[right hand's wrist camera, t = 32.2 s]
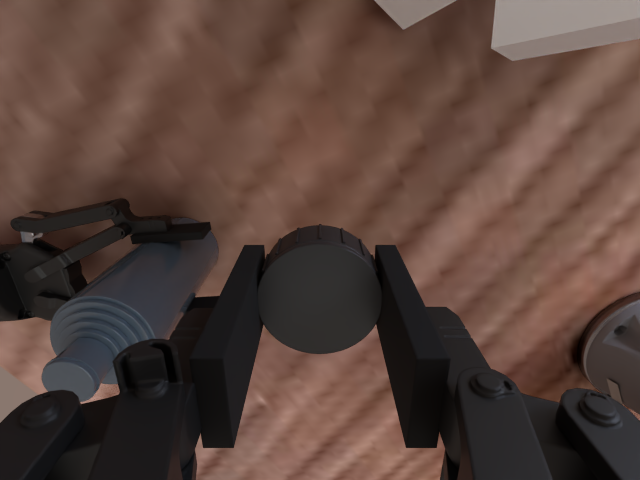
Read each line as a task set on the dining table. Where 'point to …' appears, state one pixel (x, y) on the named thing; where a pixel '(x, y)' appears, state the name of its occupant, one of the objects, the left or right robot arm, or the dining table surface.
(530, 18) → the pile of blocks
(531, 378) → the dining table surface
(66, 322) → the bottle
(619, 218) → the dining table surface
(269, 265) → the cap
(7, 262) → the left robot arm
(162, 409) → the right robot arm
